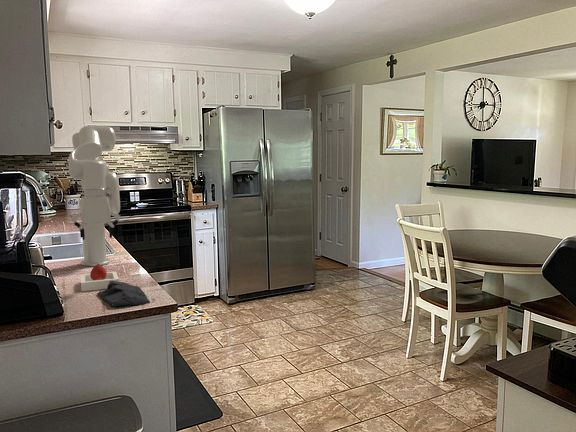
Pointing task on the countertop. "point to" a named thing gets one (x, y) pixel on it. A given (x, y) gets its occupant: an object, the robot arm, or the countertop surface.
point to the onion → (98, 273)
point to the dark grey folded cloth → (123, 294)
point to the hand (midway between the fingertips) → (97, 238)
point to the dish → (97, 281)
